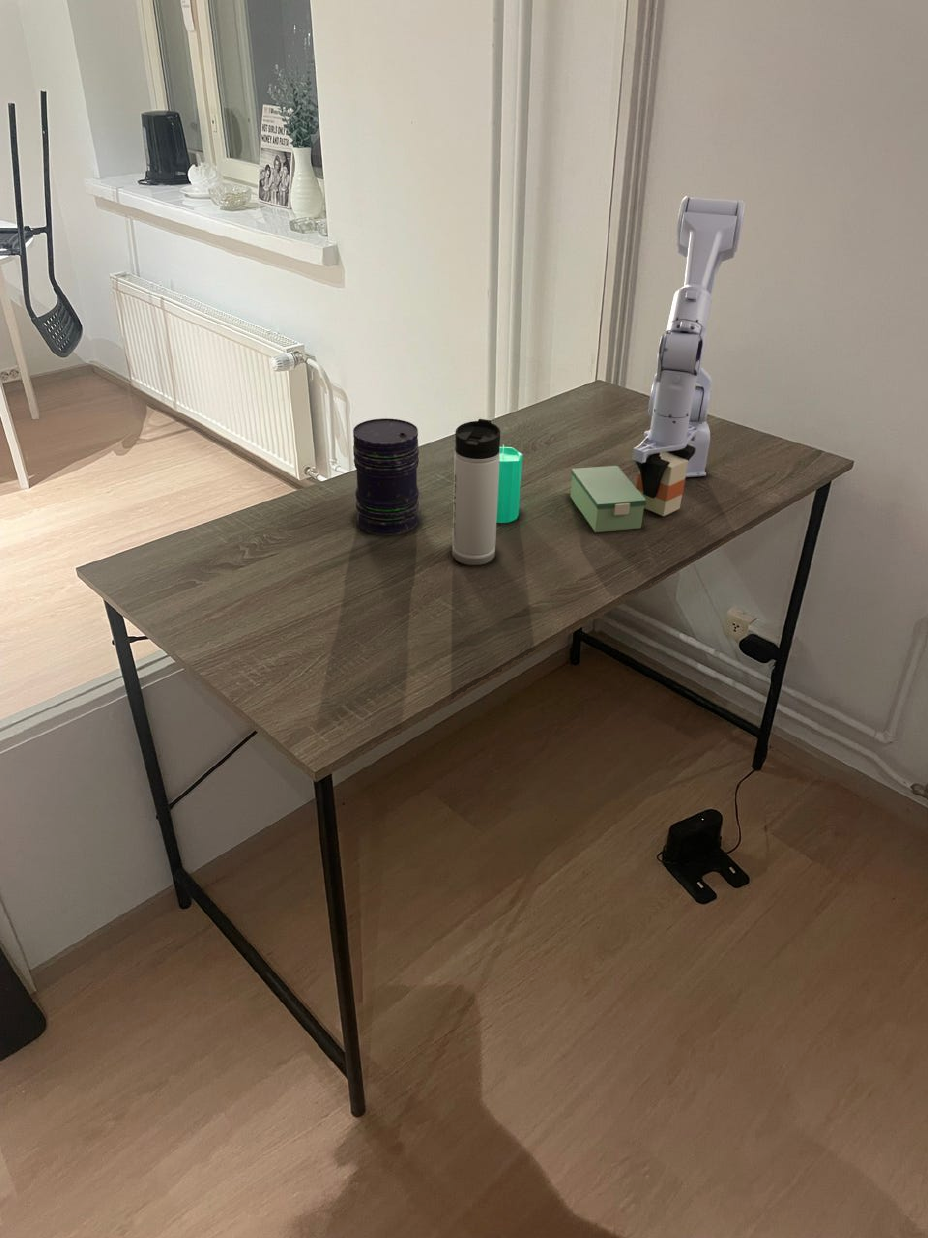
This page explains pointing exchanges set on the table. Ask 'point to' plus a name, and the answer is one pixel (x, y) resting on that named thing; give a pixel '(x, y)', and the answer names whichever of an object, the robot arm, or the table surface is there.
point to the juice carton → (667, 486)
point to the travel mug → (475, 491)
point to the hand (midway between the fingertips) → (659, 491)
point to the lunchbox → (607, 498)
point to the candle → (509, 484)
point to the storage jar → (386, 475)
